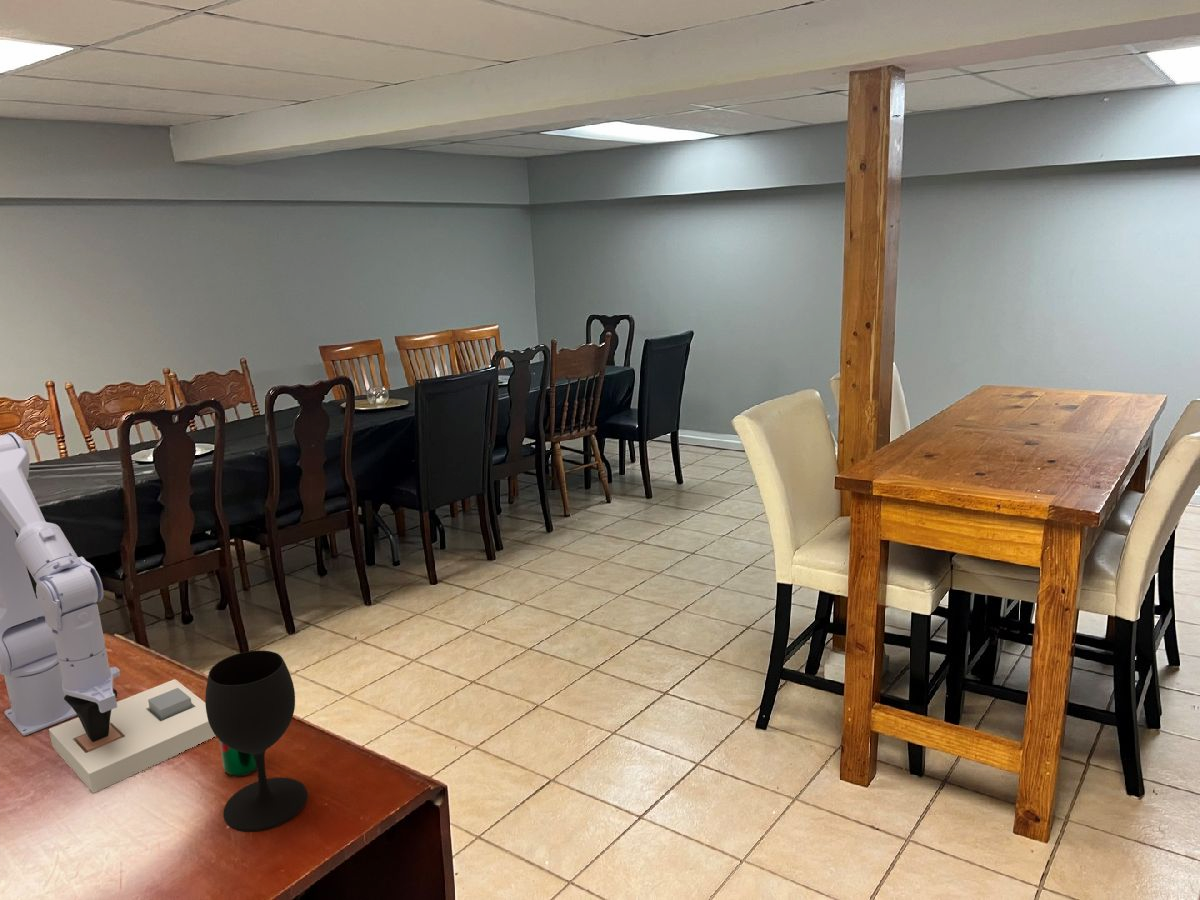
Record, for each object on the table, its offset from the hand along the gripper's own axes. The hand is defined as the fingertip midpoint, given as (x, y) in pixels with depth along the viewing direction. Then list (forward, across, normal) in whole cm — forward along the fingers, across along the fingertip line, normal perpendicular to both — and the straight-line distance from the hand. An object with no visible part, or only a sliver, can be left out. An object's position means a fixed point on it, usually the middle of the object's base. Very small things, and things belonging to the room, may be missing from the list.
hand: (99, 737), depth 124 cm
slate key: (0, 0, -10) cm, 10 cm away
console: (+3, 0, -5) cm, 6 cm away
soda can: (+3, -18, -12) cm, 22 cm away
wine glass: (+3, -28, -10) cm, 30 cm away
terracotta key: (+1, 0, 0) cm, 1 cm away
